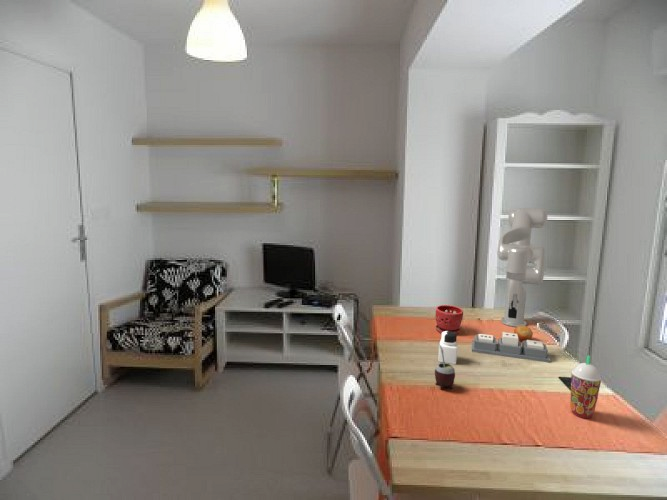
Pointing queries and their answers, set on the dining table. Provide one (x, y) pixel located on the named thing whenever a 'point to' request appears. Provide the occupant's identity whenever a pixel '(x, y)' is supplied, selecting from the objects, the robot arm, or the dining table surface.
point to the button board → (510, 350)
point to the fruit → (523, 333)
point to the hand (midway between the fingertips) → (512, 317)
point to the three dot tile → (485, 338)
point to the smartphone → (566, 381)
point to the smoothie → (584, 389)
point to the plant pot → (448, 318)
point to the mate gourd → (444, 374)
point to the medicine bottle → (448, 347)
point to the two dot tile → (510, 339)
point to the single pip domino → (534, 344)
